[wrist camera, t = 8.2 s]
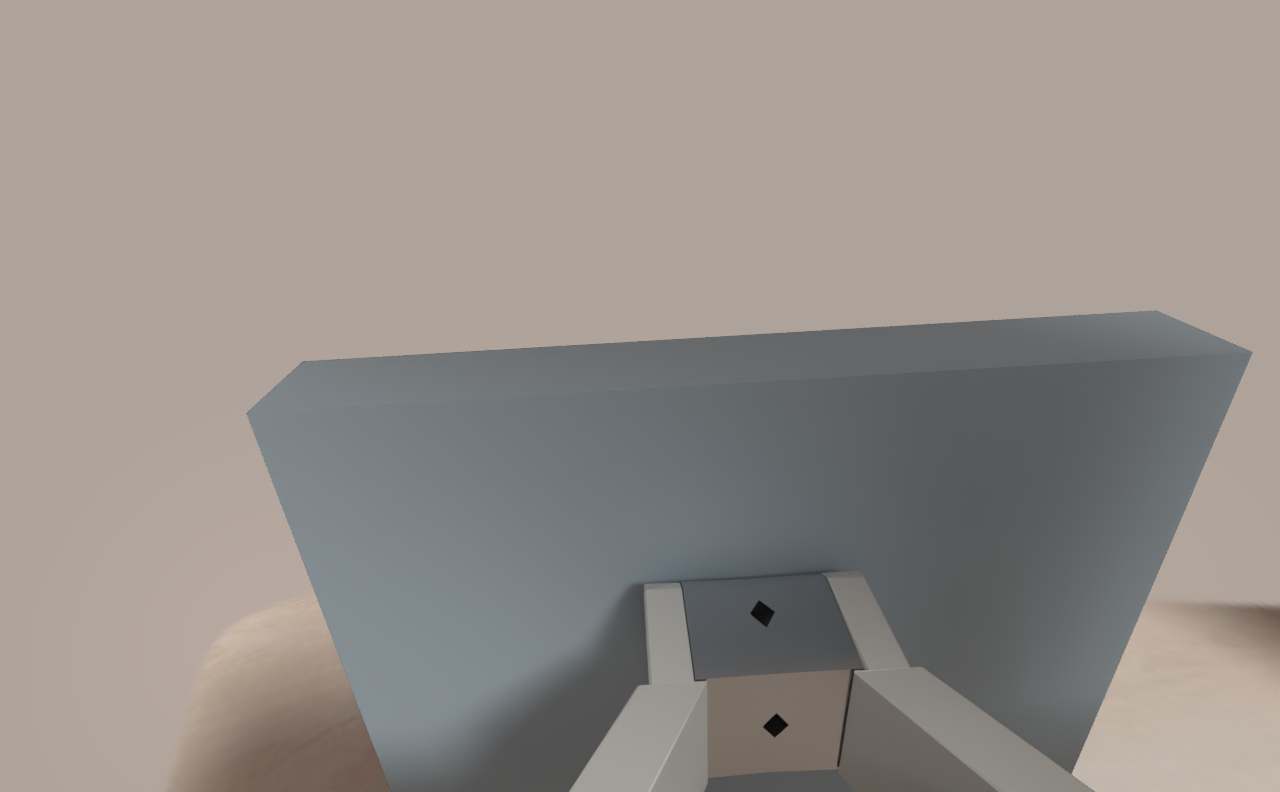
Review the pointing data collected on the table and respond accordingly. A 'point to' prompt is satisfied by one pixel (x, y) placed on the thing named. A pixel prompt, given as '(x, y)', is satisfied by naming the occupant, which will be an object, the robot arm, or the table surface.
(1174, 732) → the table surface
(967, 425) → the grey upright panel
